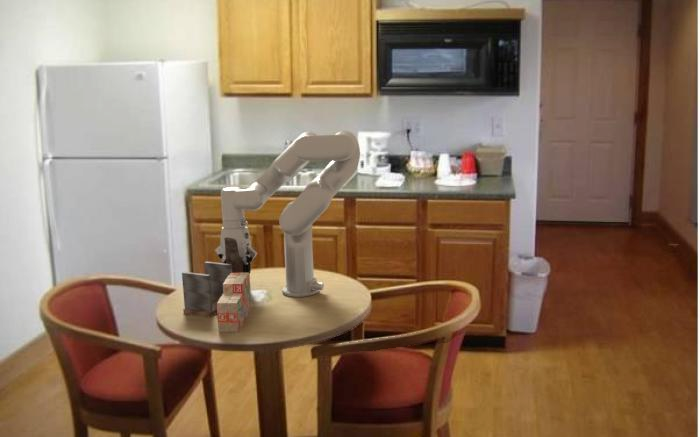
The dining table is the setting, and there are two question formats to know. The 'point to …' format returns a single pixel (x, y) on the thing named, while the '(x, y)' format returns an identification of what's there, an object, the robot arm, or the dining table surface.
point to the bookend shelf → (204, 289)
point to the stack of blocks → (234, 302)
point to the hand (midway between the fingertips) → (237, 273)
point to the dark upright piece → (233, 256)
